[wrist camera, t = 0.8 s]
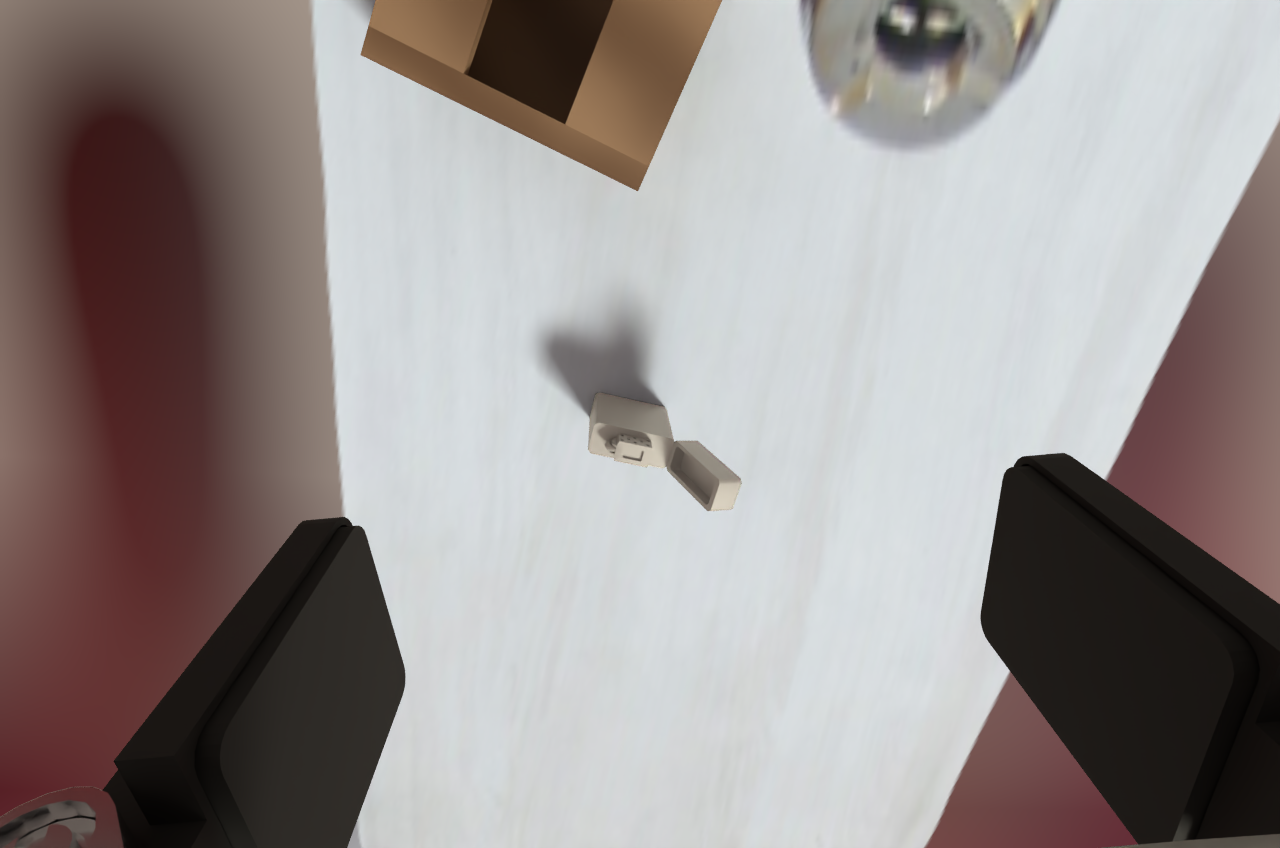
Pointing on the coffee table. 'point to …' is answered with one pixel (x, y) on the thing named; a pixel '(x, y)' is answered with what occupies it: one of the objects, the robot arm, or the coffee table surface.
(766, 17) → the coffee table surface
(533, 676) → the coffee table surface
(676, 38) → the box
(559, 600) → the coffee table surface
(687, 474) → the lighter
